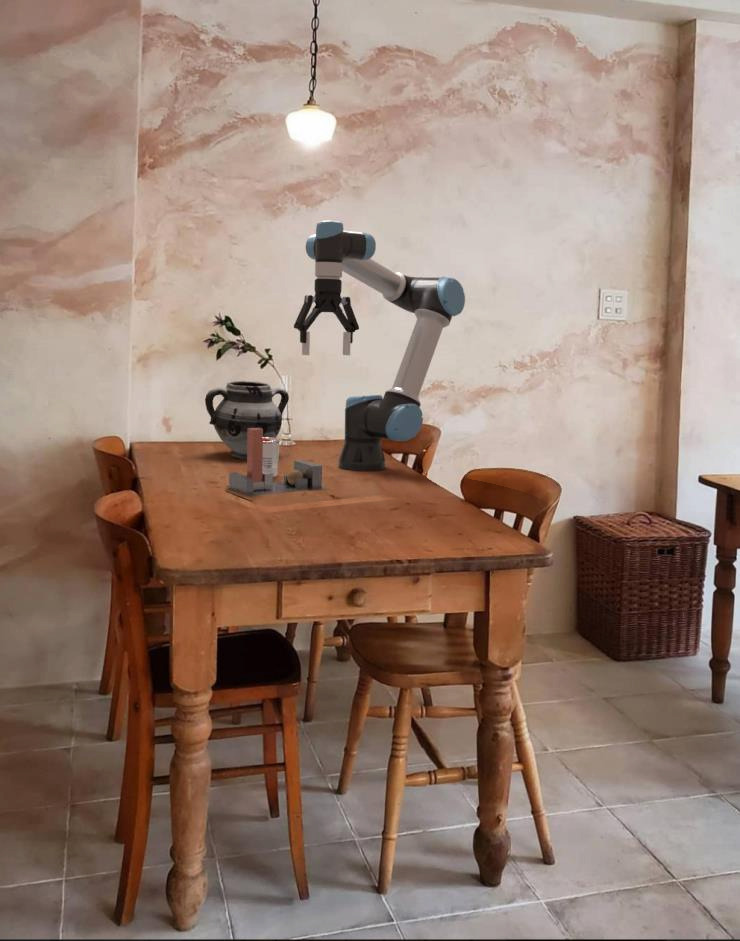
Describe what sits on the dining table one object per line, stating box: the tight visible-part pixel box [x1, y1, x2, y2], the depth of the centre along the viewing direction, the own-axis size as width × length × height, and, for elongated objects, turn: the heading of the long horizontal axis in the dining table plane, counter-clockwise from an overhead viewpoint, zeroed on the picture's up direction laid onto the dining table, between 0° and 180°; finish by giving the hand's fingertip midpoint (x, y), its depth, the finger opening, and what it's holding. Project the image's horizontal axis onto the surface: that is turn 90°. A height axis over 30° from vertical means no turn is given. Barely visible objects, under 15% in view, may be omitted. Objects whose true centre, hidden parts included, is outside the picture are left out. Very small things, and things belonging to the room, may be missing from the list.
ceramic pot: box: [204, 380, 290, 460], centre depth 308 cm, size 29×23×25 cm
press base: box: [225, 459, 328, 502], centre depth 251 cm, size 24×14×8 cm, turn 125°
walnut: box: [286, 469, 303, 486], centre depth 254 cm, size 4×4×4 cm
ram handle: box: [246, 428, 274, 490], centre depth 246 cm, size 7×4×16 cm, turn 125°
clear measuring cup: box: [262, 437, 281, 478], centre depth 268 cm, size 10×8×12 cm
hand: (326, 355), depth 262 cm, fingers open, 13 cm apart
